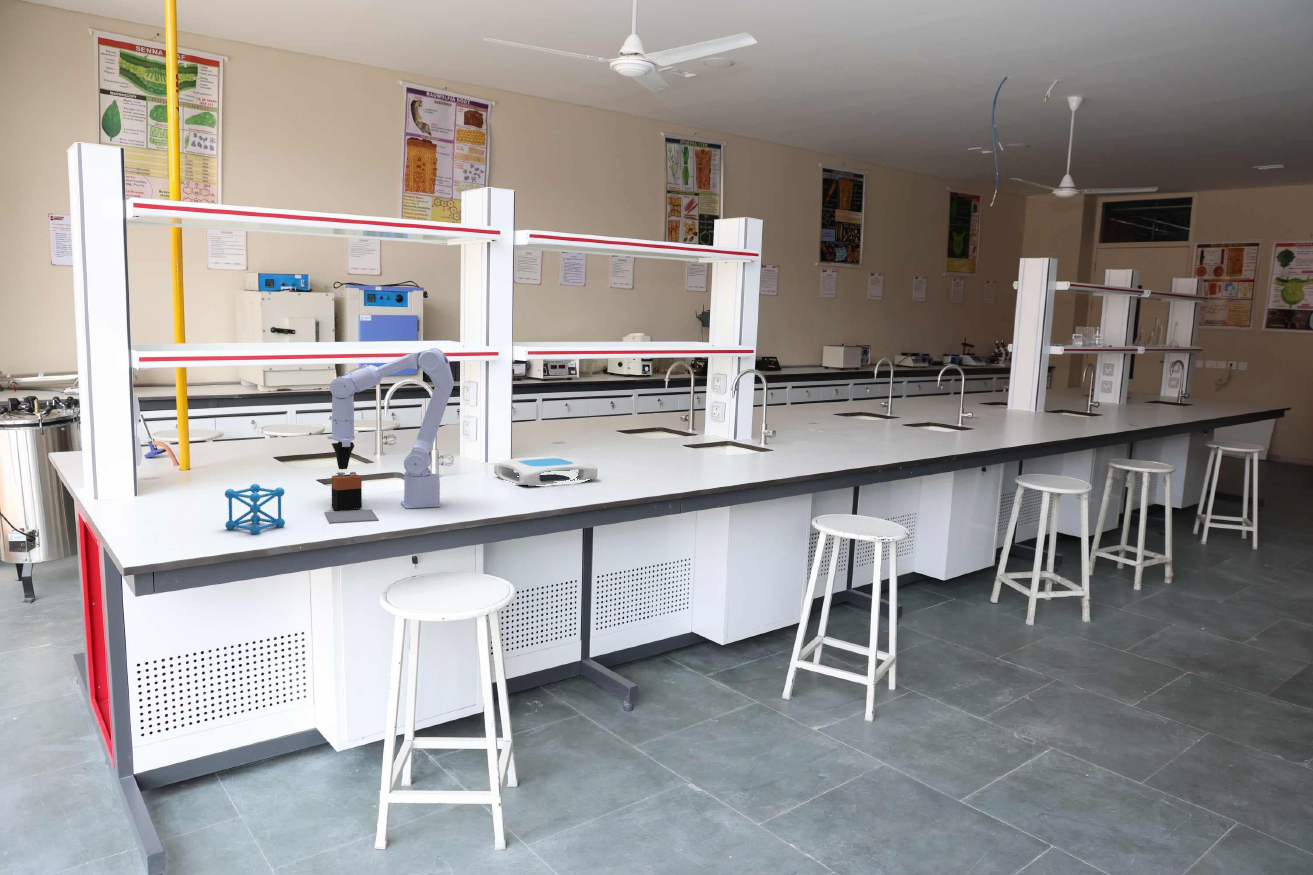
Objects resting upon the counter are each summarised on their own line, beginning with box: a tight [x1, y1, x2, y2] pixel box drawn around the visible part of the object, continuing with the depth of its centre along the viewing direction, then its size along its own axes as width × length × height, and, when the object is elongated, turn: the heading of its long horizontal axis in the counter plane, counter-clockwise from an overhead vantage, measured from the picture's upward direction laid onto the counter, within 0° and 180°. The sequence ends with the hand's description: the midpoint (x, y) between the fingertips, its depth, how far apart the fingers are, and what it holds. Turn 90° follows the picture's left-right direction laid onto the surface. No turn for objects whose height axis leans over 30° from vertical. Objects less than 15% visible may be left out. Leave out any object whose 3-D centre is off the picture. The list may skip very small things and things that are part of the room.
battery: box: [331, 471, 363, 511], centre depth 236 cm, size 4×7×10 cm, turn 132°
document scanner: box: [493, 455, 598, 487], centre depth 293 cm, size 21×28×6 cm
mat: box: [323, 509, 379, 524], centre depth 229 cm, size 12×12×1 cm
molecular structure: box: [224, 483, 286, 535], centre depth 213 cm, size 10×10×10 cm
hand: (342, 468), depth 243 cm, fingers closed
